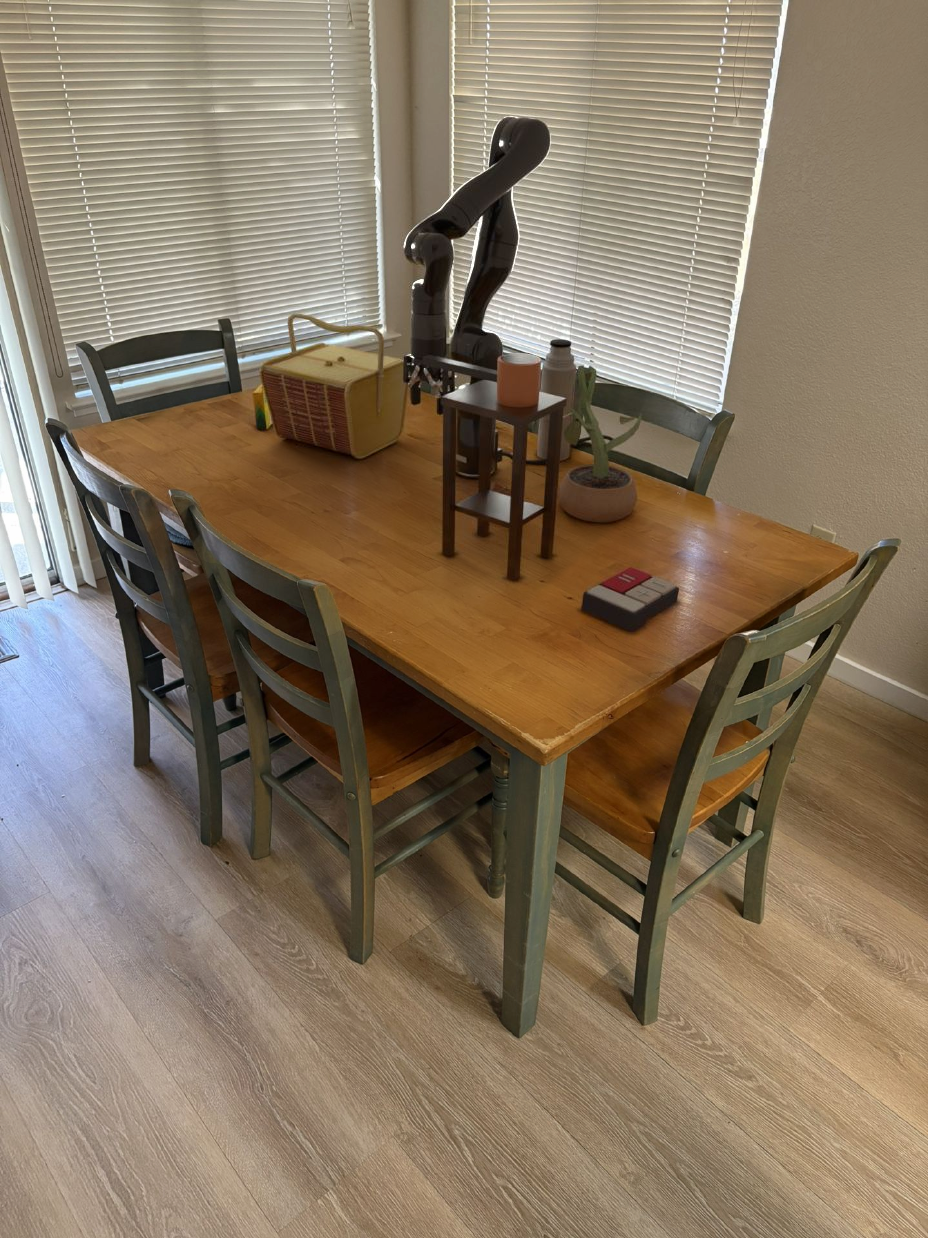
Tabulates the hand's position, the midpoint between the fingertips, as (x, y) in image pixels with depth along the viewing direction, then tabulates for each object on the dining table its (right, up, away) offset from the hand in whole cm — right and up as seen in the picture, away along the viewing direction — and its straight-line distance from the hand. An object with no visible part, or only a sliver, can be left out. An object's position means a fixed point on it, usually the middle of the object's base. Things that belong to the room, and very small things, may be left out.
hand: (428, 408), depth 203 cm
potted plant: (+35, -21, +4) cm, 41 cm away
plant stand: (+14, -33, -18) cm, 40 cm away
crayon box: (-45, +5, +43) cm, 62 cm away
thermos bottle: (+30, -5, +28) cm, 41 cm away
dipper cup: (+10, -4, -32) cm, 34 cm away
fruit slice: (+17, -21, +2) cm, 27 cm away
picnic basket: (-24, 0, +34) cm, 42 cm away
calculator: (+38, -44, -34) cm, 67 cm away
